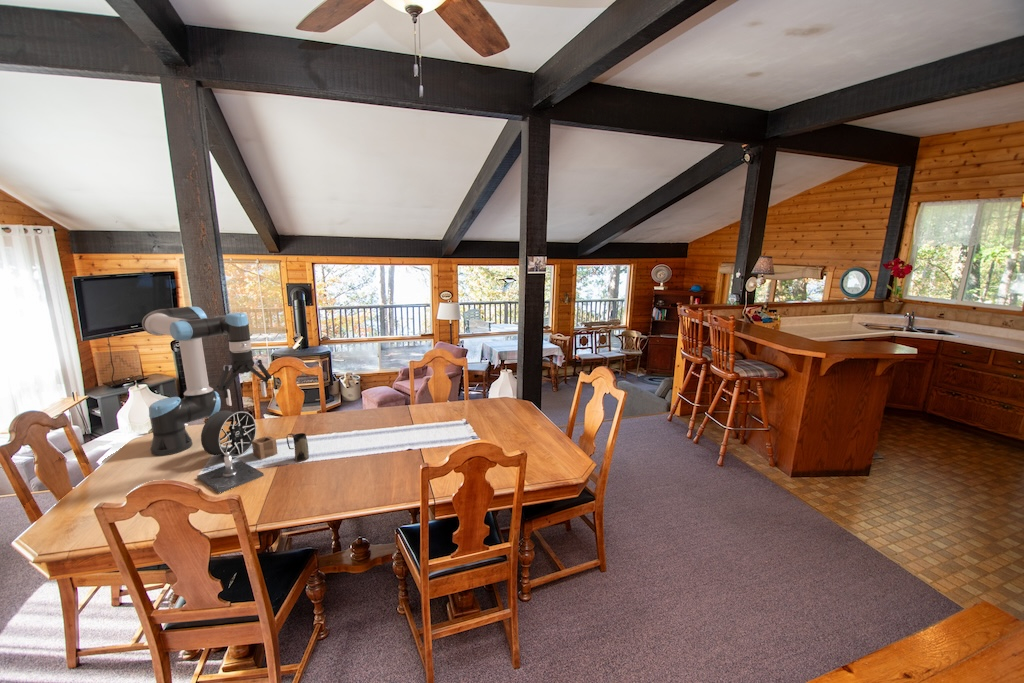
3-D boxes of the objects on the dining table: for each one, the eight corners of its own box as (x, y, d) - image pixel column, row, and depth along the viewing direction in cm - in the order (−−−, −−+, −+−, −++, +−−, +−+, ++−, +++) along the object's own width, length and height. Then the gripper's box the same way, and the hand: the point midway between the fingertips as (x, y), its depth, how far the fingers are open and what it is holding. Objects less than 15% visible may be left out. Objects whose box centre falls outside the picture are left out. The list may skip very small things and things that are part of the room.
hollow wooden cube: (253, 455, 189) (251, 441, 188) (269, 449, 195) (267, 435, 193) (261, 459, 185) (259, 444, 184) (277, 453, 191) (275, 439, 189)
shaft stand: (197, 478, 169) (193, 453, 167) (240, 462, 182) (237, 439, 180) (219, 493, 158) (215, 467, 156) (263, 475, 171) (260, 451, 169)
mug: (310, 455, 189) (307, 430, 186) (307, 461, 184) (304, 435, 181) (291, 457, 187) (288, 431, 185) (287, 463, 182) (284, 436, 180)
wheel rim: (222, 465, 180) (215, 421, 176) (204, 463, 182) (197, 419, 178) (258, 445, 199) (253, 405, 195) (242, 443, 201) (236, 404, 197)
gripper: (209, 357, 160) (217, 411, 164) (276, 346, 180) (282, 394, 184) (201, 355, 164) (209, 407, 168) (268, 344, 184) (273, 391, 188)
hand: (247, 400), depth 176 cm, fingers open, 13 cm apart
